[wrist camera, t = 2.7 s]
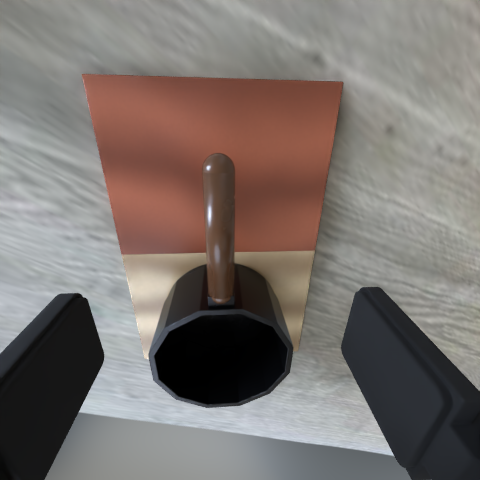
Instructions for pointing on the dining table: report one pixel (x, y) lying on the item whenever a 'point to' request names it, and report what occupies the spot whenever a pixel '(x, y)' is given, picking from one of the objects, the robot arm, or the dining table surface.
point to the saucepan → (220, 316)
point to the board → (191, 185)
